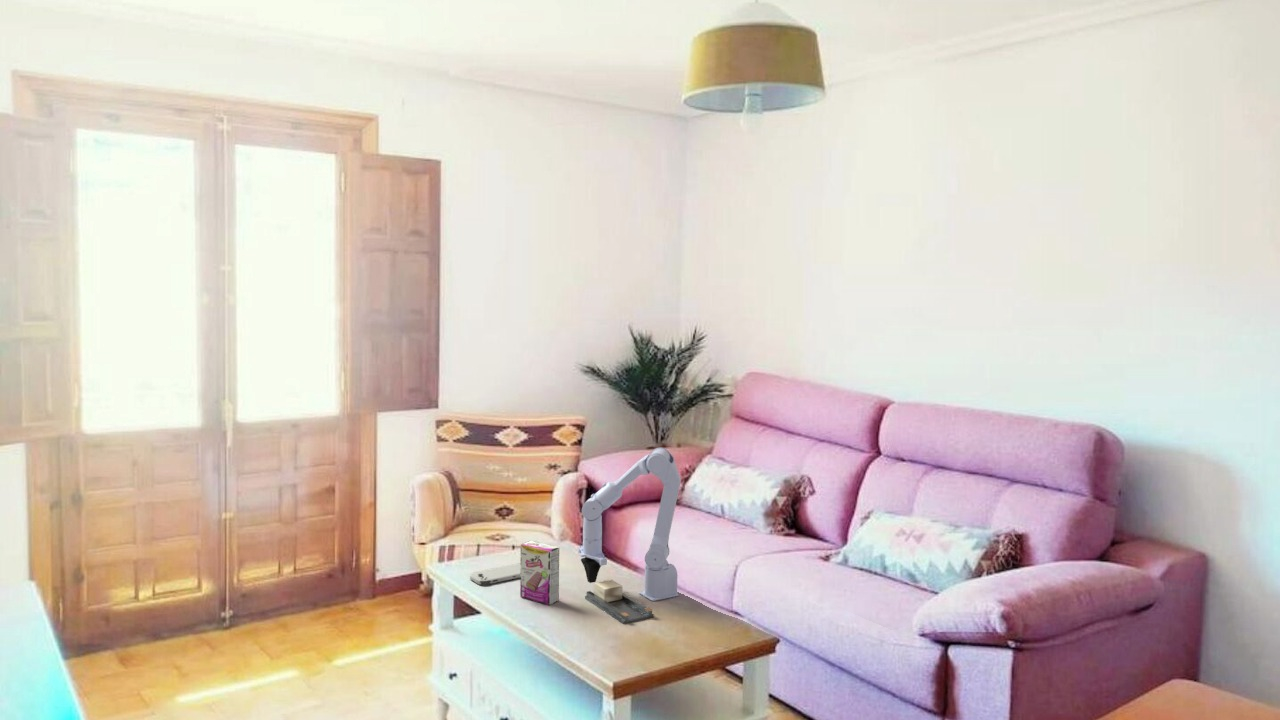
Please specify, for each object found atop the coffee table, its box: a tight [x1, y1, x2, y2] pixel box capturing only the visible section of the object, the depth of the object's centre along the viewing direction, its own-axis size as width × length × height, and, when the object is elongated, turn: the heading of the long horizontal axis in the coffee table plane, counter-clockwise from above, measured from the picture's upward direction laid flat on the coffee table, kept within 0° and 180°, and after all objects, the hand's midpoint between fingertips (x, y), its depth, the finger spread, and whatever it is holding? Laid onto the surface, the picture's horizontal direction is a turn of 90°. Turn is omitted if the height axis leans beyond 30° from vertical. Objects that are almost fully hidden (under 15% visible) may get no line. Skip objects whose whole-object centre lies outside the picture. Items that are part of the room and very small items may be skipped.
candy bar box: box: [519, 540, 560, 606], centre depth 264 cm, size 11×5×16 cm, turn 58°
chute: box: [584, 590, 655, 625], centre depth 259 cm, size 10×22×2 cm, turn 32°
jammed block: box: [593, 579, 623, 602], centre depth 264 cm, size 6×6×4 cm
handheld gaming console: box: [469, 562, 521, 587], centre depth 285 cm, size 23×3×10 cm
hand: (591, 581), depth 273 cm, fingers closed
